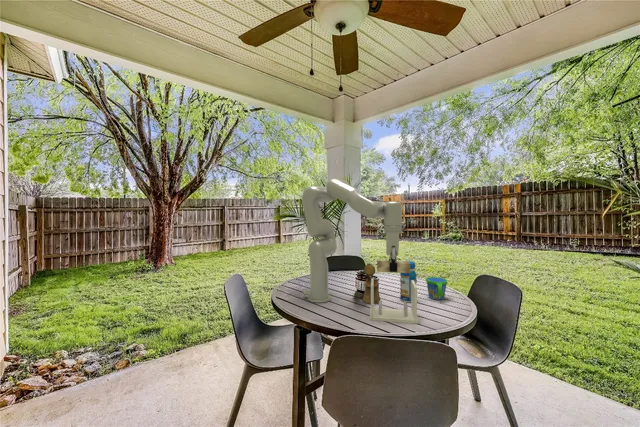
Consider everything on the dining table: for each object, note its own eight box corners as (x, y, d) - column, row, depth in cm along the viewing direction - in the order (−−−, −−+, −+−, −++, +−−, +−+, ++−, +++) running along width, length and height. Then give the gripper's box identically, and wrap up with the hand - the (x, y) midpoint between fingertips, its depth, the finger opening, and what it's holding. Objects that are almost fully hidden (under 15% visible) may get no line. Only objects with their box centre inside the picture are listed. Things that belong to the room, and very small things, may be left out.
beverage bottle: (417, 303, 142) (418, 264, 142) (400, 302, 144) (400, 263, 143) (415, 298, 150) (415, 260, 150) (399, 297, 152) (399, 260, 152)
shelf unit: (369, 320, 122) (369, 285, 121) (370, 310, 133) (370, 278, 133) (418, 323, 118) (418, 287, 117) (414, 313, 129) (414, 280, 129)
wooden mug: (377, 295, 155) (377, 263, 154) (382, 304, 141) (382, 268, 141) (361, 295, 155) (361, 263, 155) (364, 304, 141) (364, 268, 141)
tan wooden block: (377, 271, 124) (377, 262, 124) (377, 269, 129) (377, 260, 129) (410, 273, 121) (410, 263, 121) (408, 270, 126) (409, 261, 126)
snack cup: (449, 304, 141) (449, 283, 141) (427, 302, 144) (427, 282, 144) (444, 294, 156) (444, 276, 156) (424, 293, 159) (424, 275, 159)
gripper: (383, 227, 134) (384, 266, 134) (384, 230, 117) (384, 274, 117) (400, 228, 132) (400, 266, 133) (403, 231, 116) (403, 275, 116)
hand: (393, 269), depth 125 cm, fingers closed on tan wooden block, 5 cm apart
